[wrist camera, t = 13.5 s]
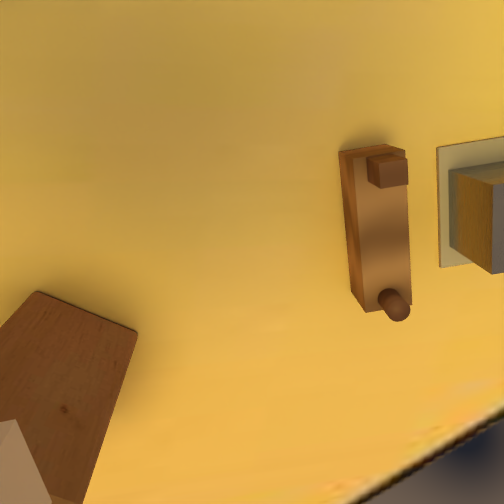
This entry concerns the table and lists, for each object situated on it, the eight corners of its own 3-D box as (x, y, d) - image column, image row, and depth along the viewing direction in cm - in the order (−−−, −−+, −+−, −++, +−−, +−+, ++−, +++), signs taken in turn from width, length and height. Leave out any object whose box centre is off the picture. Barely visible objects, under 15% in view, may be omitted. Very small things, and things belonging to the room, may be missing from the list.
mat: (436, 147, 40) (438, 148, 40) (530, 132, 40) (533, 132, 40) (439, 266, 44) (441, 268, 43) (525, 252, 44) (528, 253, 43)
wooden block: (140, 331, 44) (80, 512, 25) (99, 413, 46) (16, 634, 27) (35, 288, 42) (-118, 449, 23) (-2, 376, 44) (-167, 587, 25)
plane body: (338, 151, 40) (364, 164, 33) (385, 144, 40) (421, 155, 33) (351, 291, 44) (376, 329, 37) (393, 284, 44) (427, 321, 37)
